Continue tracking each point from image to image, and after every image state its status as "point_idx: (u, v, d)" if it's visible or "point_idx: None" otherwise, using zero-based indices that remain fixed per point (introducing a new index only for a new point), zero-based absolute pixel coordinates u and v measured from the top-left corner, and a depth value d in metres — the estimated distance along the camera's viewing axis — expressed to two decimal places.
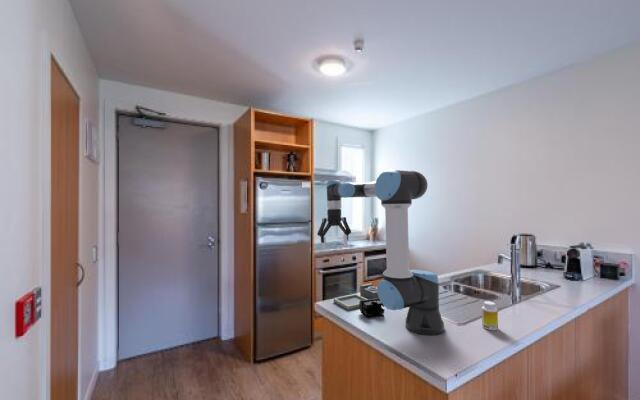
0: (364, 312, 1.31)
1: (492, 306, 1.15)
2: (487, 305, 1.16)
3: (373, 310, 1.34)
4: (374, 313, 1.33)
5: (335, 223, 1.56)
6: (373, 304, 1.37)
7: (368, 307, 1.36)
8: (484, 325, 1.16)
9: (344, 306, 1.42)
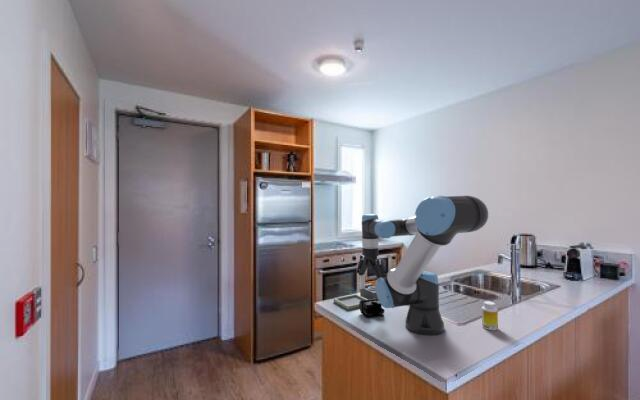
0: (364, 312, 1.31)
1: (492, 306, 1.15)
2: (487, 305, 1.16)
3: (373, 310, 1.34)
4: (374, 313, 1.33)
5: (368, 264, 1.34)
6: (373, 304, 1.37)
7: (368, 307, 1.36)
8: (484, 325, 1.16)
9: (344, 306, 1.42)
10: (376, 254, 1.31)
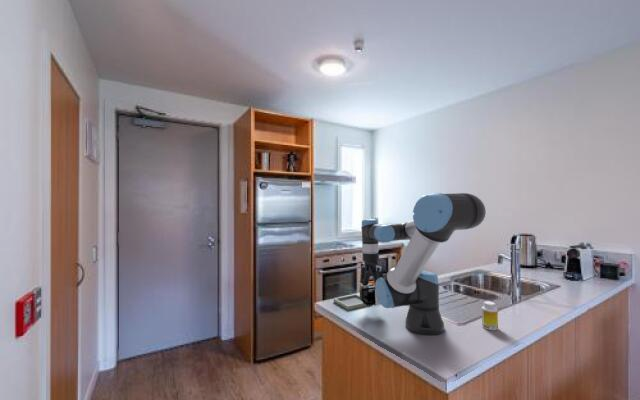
0: (364, 300, 1.31)
1: (492, 306, 1.15)
2: (487, 305, 1.16)
3: (373, 298, 1.34)
4: (374, 301, 1.33)
5: (369, 269, 1.33)
6: (373, 292, 1.36)
7: (368, 295, 1.35)
8: (484, 325, 1.16)
9: (344, 306, 1.42)
10: (376, 259, 1.31)
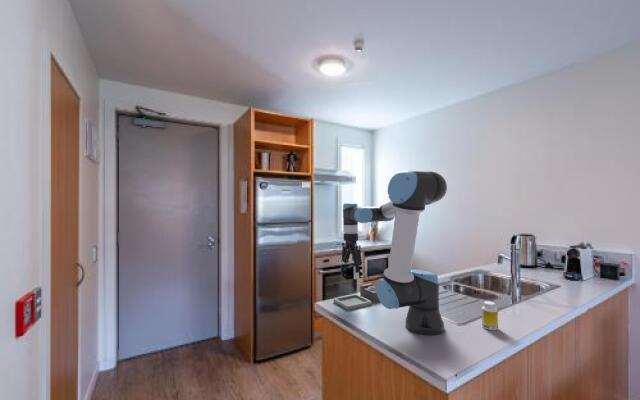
0: (344, 274, 1.46)
1: (492, 306, 1.15)
2: (487, 305, 1.16)
3: (353, 273, 1.49)
4: (353, 276, 1.48)
5: (349, 248, 1.48)
6: (353, 268, 1.52)
7: (348, 271, 1.51)
8: (484, 325, 1.16)
9: (344, 306, 1.42)
10: (355, 239, 1.46)
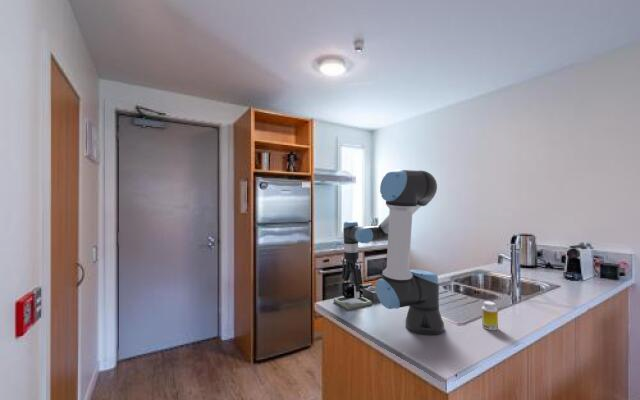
0: (345, 293, 1.46)
1: (492, 306, 1.15)
2: (487, 305, 1.16)
3: (353, 292, 1.49)
4: None
5: (349, 267, 1.48)
6: (353, 287, 1.51)
7: (349, 289, 1.50)
8: (484, 325, 1.16)
9: (344, 306, 1.42)
10: (356, 257, 1.46)
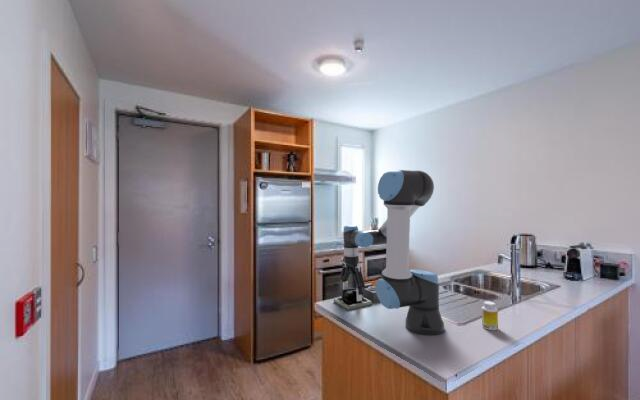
0: (345, 300, 1.45)
1: (492, 306, 1.15)
2: (487, 305, 1.16)
3: (353, 298, 1.49)
4: (354, 301, 1.48)
5: (349, 271, 1.48)
6: (353, 293, 1.51)
7: (349, 296, 1.50)
8: (484, 325, 1.16)
9: (344, 306, 1.42)
10: (356, 262, 1.46)
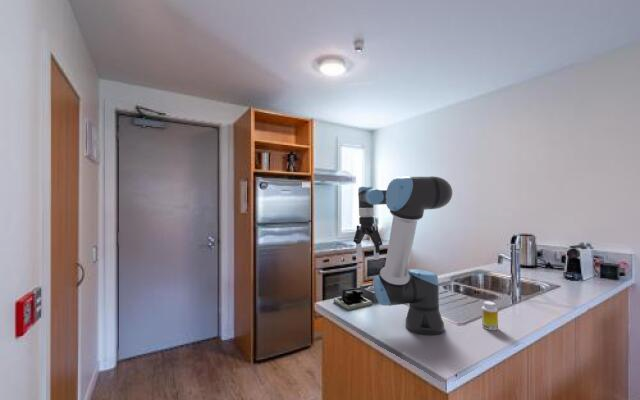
0: (345, 300, 1.45)
1: (492, 306, 1.15)
2: (487, 305, 1.16)
3: (353, 298, 1.49)
4: (354, 301, 1.48)
5: (365, 232, 1.48)
6: (353, 293, 1.51)
7: (349, 296, 1.50)
8: (484, 325, 1.16)
9: (344, 306, 1.42)
10: (372, 222, 1.46)
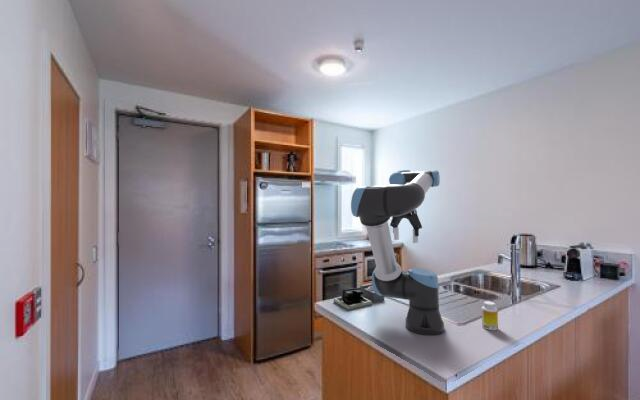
0: (345, 300, 1.45)
1: (492, 306, 1.15)
2: (487, 305, 1.16)
3: (353, 298, 1.49)
4: (354, 301, 1.48)
5: (403, 215, 1.48)
6: (353, 293, 1.51)
7: (349, 296, 1.50)
8: (484, 325, 1.16)
9: (344, 306, 1.42)
10: None
